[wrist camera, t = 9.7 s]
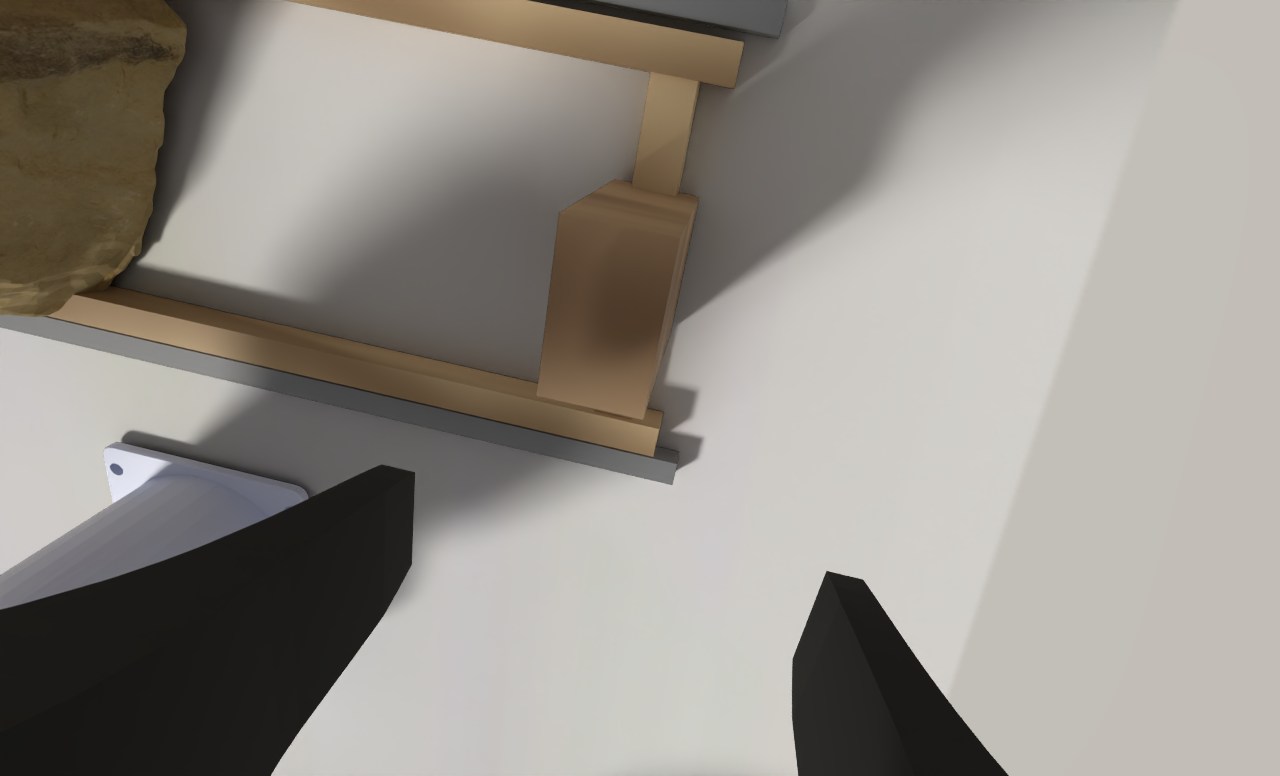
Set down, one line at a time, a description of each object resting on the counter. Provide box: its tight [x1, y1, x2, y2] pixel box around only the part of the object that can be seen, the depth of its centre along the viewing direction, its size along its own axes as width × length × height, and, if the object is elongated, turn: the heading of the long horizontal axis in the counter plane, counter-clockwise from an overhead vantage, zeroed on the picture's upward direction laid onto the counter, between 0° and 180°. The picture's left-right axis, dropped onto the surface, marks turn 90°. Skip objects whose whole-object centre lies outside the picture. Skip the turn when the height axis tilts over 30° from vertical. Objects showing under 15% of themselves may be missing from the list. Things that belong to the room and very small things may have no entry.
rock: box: [0, 0, 187, 317], centre depth 17 cm, size 11×9×10 cm
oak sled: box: [48, 0, 744, 457], centre depth 17 cm, size 12×25×6 cm, turn 80°
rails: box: [0, 0, 788, 485], centre depth 18 cm, size 20×37×1 cm, turn 80°
